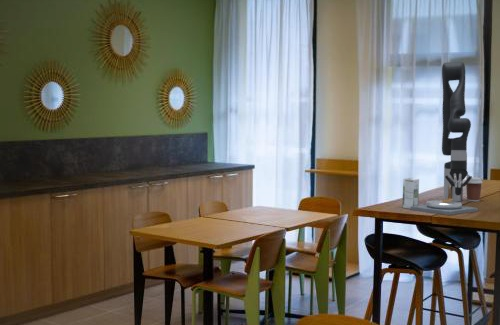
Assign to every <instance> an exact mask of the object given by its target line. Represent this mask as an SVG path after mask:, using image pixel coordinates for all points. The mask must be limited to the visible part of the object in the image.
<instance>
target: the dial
mask: <svg viewBox="0 0 500 325" xmlns="http://www.w3.org/2000/svg"><path fill="white" fill-rule="evenodd" d="M451 200H452V186H448V198H447V199H445V200H444V199H443V200H440V199H439V200H427V201H426V205H427V207H430V208H439V209H458V208H462V206H463V202H462V201H451Z"/></svg>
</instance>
